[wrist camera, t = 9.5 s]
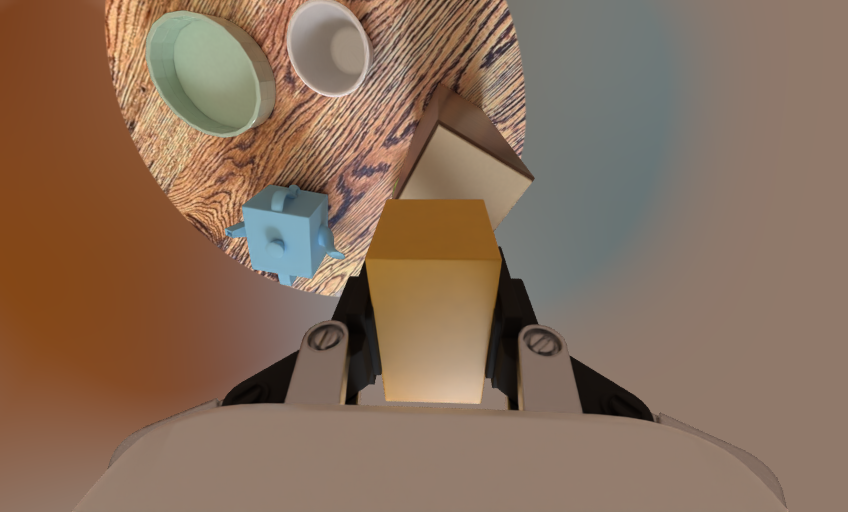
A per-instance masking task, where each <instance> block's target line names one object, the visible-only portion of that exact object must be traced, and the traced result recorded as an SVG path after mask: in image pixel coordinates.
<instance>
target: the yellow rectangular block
mask: <svg viewBox="0 0 848 512" xmlns="http://www.w3.org/2000/svg"><path fill="white" fill-rule="evenodd" d="M365 262H366V269H367V276H368V283H369V290H370V297H371V303H372V306H373V309H374V316H375V323H376V330H377V337H378V344H379V351H380V358H381V365H382V379H383V385H384V393H385V399H386V401H409V402H410V401H411V402H440V403H473V404H480V403H481V400H482V394H483V386H484V380H485V368H486V361H487V354H488V347H489V340H490V333H491V326H492V320H493V313H494V308H495V304H496V298H497V291H498V284H499V277H500V270H501V263H502V258H501V255H500V252H499V248H498V245H497V242H496V239H495V235H494V232H493V229H492V225H491V222H490V219H489V215H488V212H487V209H486V205H485V202H484V200H483V199H387V200H386V203H385V206H384V208H383V211H382V214H381V216H380V219H379V222H378V225H377V227H376V230H375V233H374V235H373V238H372V241H371V243H370V246H369V249H368V252H367V254H366V257H365Z"/></svg>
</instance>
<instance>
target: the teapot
mask: <svg viewBox="0 0 848 512" xmlns="http://www.w3.org/2000/svg"><path fill="white" fill-rule="evenodd" d="M242 211H243V217H244V221H243V222H241V223H238V224H235V225H233V226H230V227H228V228H225V233H226V236H229V237H232V238H235V237H247V242H248V247H249V253H250V259H251V264H252V269H255V270H261V271H267V272H273V273H278V276H279V280H280V284H282V285H289V286H292V284H293V282H294V281H295V279H296V277H297V276H299V277H305V278H311V279H312V278H313V276H314V274H315V273H316V271H317V269H318V267H319V266H320V264H321V262H322V260H323V259H324V257H325V255H326V253H327V254H328V255H329V256H330V257H332V258H335V259H344V258H345V256H344V255H343V254H342V253H340V252H339V251H337V250H336V249H335V247H334V236H333V233H332V231H331V230H330V229H329V228H328V195H327V194H321V193H315V192H309V191H304V190H300V188H299V187H298V186H297V185H290V186H289V188H287V187H281V186H275V185H268V186H267V187H266V188H264V189H263V190H262V191H260V192H259V193H258V194H257V195H255V196H254V197H253V198H251V199H250V200H249V201H247V202H246V203H245V204H243V205H242Z"/></svg>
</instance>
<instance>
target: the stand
mask: <svg viewBox="0 0 848 512" xmlns="http://www.w3.org/2000/svg"><path fill="white" fill-rule="evenodd" d="M534 179H535V178H534V176H533V175H532V174H531V173H530V171H529V170H528V169H527V167H526V166H525V165H524V164H523V162H522V161H521V159H520V158H519V157H518V156H517V154H516V153H515V152H514V150H513V149H512V148H511V146H510V145H509V144H508V142H507V141H506V140H505V139H504V137H503V136H502V135H501V133H500V132H499V131H498V129H497V128H496V127H495V125H494V124H493V123H492V122H491V120H490V119H489V118H488V116H487V115H486V114H485V112H484V111H483V110H482V109H480V108H479V107H477V106H476V105H474V104H473V103H471V102H469V101H468V100H466V99H465V98H463V97H462V96H460V95H459V94H457V93H455V92H454V91H452V90H451V89H449V88H448V87H446V86H444V85H443V84H441V83H440V82H439V84H438V86H437V88H436V90H435V92H434V93H433V95H432V97H431V99H430V101H429V103H428V105H427V107H426V109H425V111H424V113H423V115H422V117H421V119H420V121H419V123H418V125H417V127H416V129H415V132H414V135H413V138H412V141H411V143H410V146H409V149H408V152H407V155H406V158H405V161H404V164H403V167H402V170H401V173H400V176H399V179H398V182H397V185H396V188H395V191H394V194H393V197H392V199H483V200H484V202H485V205H486V209H487V212H488V215H489V219H490V222H491V225H492V229H493V232H494V230H495V229H496V228H497V226H498V225H499V224H500V223H501V221H502V220H503V219H504V218H505V216H506V215H507V214H508V212H509V211H510V210H511V209H512V207H513V206H514V205H515V203H516V202H517V201H518V200H519V198H520V197H521V195H522V194H523V193H524V192H525V191H526V189H527V188H528V187H529V185H530V184H531V183H532V182H533V180H534Z"/></svg>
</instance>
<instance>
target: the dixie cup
mask: <svg viewBox="0 0 848 512" xmlns="http://www.w3.org/2000/svg"><path fill="white" fill-rule="evenodd" d="M287 48H288V53H289V57H290V60H291V63H292V65H293V67H294V69H295V71H296V73H297V74H298V76H299V77H300V78H301V80H302V81H303V82H304V83H305V84H306V85H307V86H308V87H310V88H311V89H312V90H314V91H315V92H317V93H319V94H322V95H325V96H329V97H342V96H345V95H348V94H350V93H352V92H353V91H355V90H356V89H357V88H358V87H359V86H360V85H361V83H362V82H363V80H364V78H365V76H366V74H367V72H368V71H369V69H370V68H371V66H372V63H373V58H374V51H373V46H372V42H371V40H370V38H369V37H368V35H367V33H366V32H365V31H364V29H363V27H362V25H361V23H360V22H359V20H358V19H357V17H356V16H355V15H354V14H353V13H352V12H351V11H350V10H349V9H348V8H347V7H345V6H344V5H343V4H341V3H339V2H337V1H335V0H308V1H306V2H305V3H303V4H302V5H300V6H299V7H298V8H297V10H296V11H295V12H294V14H293V15H292V17H291V20H290V22H289V25H288V30H287Z"/></svg>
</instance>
